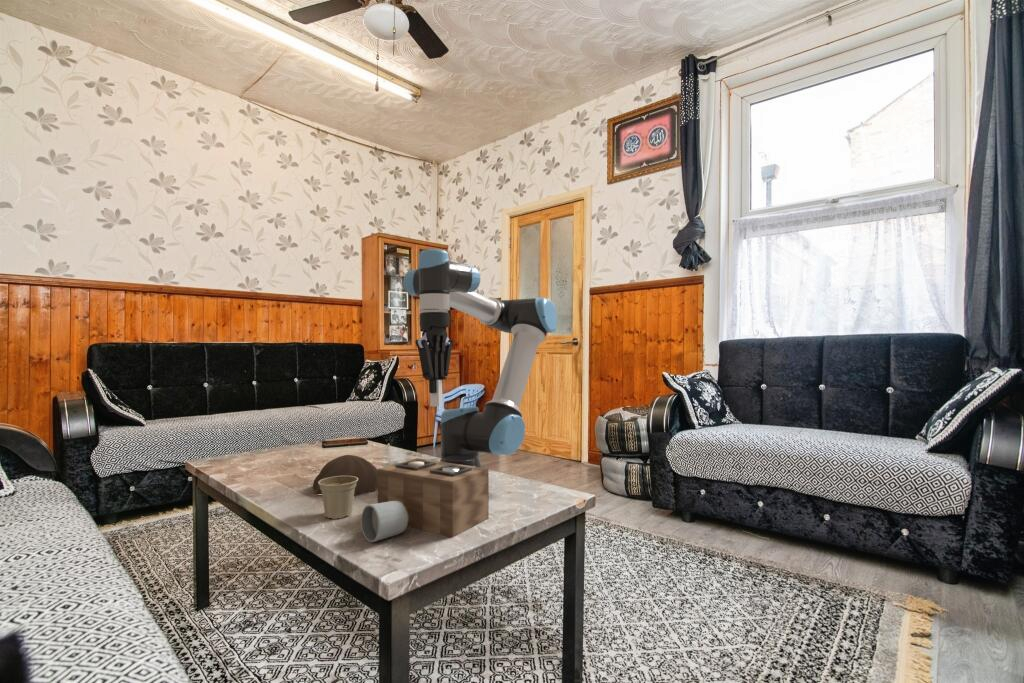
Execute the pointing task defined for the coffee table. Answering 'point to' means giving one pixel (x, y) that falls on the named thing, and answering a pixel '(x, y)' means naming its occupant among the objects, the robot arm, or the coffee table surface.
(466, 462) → the jar
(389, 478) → the walnut block
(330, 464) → the decorative dome
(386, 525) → the ceramic mug
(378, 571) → the coffee table surface
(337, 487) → the flower pot
